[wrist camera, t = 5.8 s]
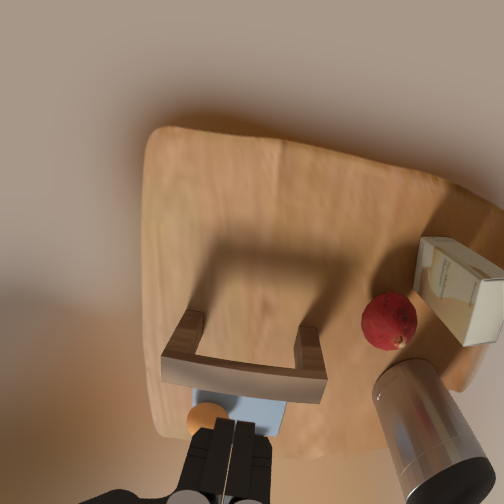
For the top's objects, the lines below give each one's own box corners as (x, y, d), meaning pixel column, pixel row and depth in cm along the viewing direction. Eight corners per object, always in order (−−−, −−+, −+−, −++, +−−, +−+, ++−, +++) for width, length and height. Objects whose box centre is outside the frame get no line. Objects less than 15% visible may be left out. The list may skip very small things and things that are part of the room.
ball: (229, 447, 33) (228, 440, 38) (232, 405, 35) (230, 402, 40) (183, 443, 32) (187, 436, 37) (186, 401, 35) (189, 399, 40)
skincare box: (419, 235, 31) (481, 275, 19) (451, 236, 30) (518, 273, 19) (411, 291, 32) (462, 349, 21) (442, 290, 32) (498, 343, 20)
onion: (369, 274, 32) (394, 307, 25) (411, 290, 32) (441, 324, 25) (345, 320, 34) (362, 361, 26) (387, 333, 34) (410, 374, 26)
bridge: (186, 309, 35) (160, 355, 26) (316, 328, 34) (327, 379, 25) (185, 332, 36) (161, 381, 27) (310, 350, 35) (319, 404, 26)
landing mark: (194, 358, 37) (194, 359, 36) (294, 372, 36) (294, 373, 36) (192, 423, 40) (192, 424, 40) (277, 435, 40) (277, 436, 39)
